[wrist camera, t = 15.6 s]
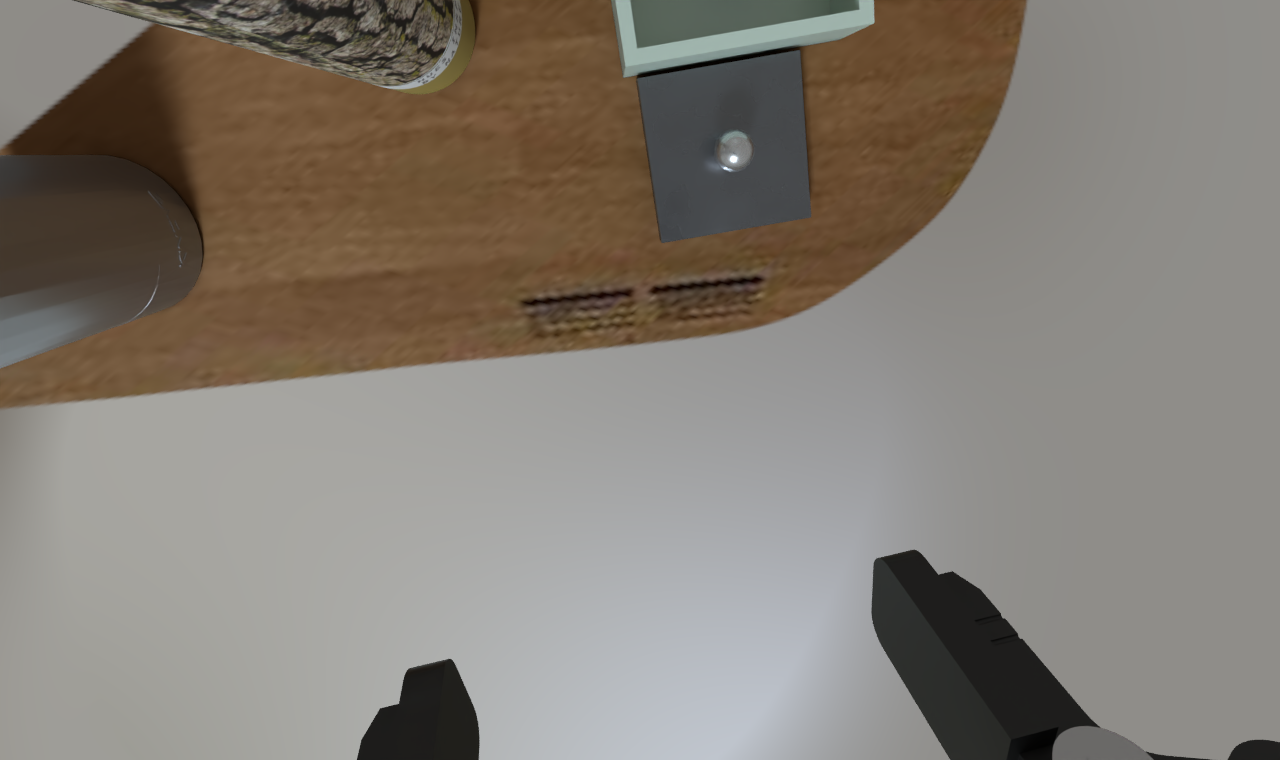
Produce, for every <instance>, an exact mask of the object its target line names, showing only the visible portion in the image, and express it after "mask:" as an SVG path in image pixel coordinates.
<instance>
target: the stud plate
mask: <svg viewBox="0 0 1280 760" xmlns="http://www.w3.org/2000/svg"><path fill="white" fill-rule="evenodd" d="M636 83H637V90H638V96H639V103H640V110H641V116H642V123H643V130H644V136H645V143H646V150H647V156H648V163H649V170H650V177H651V183H652V190H653V197H654V203H655V210H656V217H657V223H658V230H659V237H660V241H661V242H662V243H664V242H670V241H676V240H682V239H688V238H693V237H699V236H705V235H711V234H717V233H722V232H728V231H734V230H740V229H746V228H751V227H757V226H763V225H769V224H775V223H780V222H786V221H792V220H798V219H804V218H809V217H811V208H810V193H809V178H808V163H807V148H806V133H805V117H804V102H803V87H802V72H801V57H800V50H797V51H791V52H786V53H780V54H774V55H769V56H763V57H757V58H751V59H746V60H740V61H734V62H729V63H723V64H717V65H711V66H706V67H700V68H694V69H689V70H683V71H677V72H671V73H666V74H660V75H654V76H649V77H643V78H637V81H636Z"/></svg>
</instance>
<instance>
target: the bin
mask: <svg viewBox="0 0 1280 760" xmlns="http://www.w3.org/2000/svg"><path fill="white" fill-rule="evenodd" d="M611 2H612V9H613V15H614V22H615V28H616V35H617V41H618V47H619V54H620V60H621V67H622V73H623V78H624V77H630V76H635V75H641V74H647V73H653V72H658V71H664V70H670V69H675V68H681V67H687V66H693V65H698V64H704V63H710V62H715V61H721V60H727V59H732V58H738V57H744V56H750V55H755V54H761V53H767V52H772V51H778V50H784V49H790V48H795V47H801V46H807V45H812V44H818V43H824V42H830V41H835V40H840V39H842V38H844V37H846V36H848V35H850V34H853V33H855V32H857V31H859V30H861V29H863V28H865V27H867V26H869V25H871V24H874V0H611Z"/></svg>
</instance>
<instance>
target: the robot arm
mask: <svg viewBox="0 0 1280 760" xmlns="http://www.w3.org/2000/svg"><path fill="white" fill-rule="evenodd" d="M202 258H203V256H202V243H201V238H200V234H199V231H198V228H197V224H196V222H195V220H194V218H193V216H192V214H191V212H190V210H189V209H188V207H187V206H186V204H185V203H184V202H183V200H182V199H181V198H180V196H179V195H178V194H177V192H175V191H174V190H173V189H172V188H171V187H170V186H169V185H168V184H167V183H166V182H165V181H164V180H163V179H161V178H160V177H158V176H157V175H155V174H154V173H152V172H151V171H150V170H148V169H147V168H145V167H142V166H140V165H138V164H136V163H133V162H131V161H129V160H126V159H122V158H117V157H113V156H107V155H0V368H2V367H5V366H8V365H11V364H13V363H16V362H19V361H22V360H25V359H27V358H30V357H33V356H36V355H38V354H41V353H44V352H47V351H50V350H52V349H55V348H58V347H61V346H63V345H66V344H69V343H72V342H75V341H77V340H80V339H83V338H86V337H88V336H91V335H94V334H97V333H100V332H102V331H105V330H108V329H111V328H114V327H117V326H120V325H123V324H125V323H128V322H131V321H134V320H136V319H139V318H142V317H145V316H147V315H150V314H153V313H156V312H158V311H161V310H164V309H166V308H168V307H171V306H173V305H175V304H176V303H178V302H179V301H180V300H182V299H183V298H185V297H186V296H187V294H188V293H189V292H190V291H191V289H192V288H193V287H194V285H195V283H196V281H197V279H198V276H199V274H200V271H201V264H202ZM872 620H873V624H874V628H875V631H876V634H877V637H878V639H879V641H880V643H881V645H882V647H883V649H884V651H885V652H886V654H887V656H888V657H889V659H890V660H891V662H892V664H893V665H894V667H895V669H896V670H897V672H898V674H899V675H900V677H901V679H902V680H903V682H904V684H905V685H906V687H907V688H908V690H909V692H910V694H911V695H912V697H913V699H914V700H915V702H916V704H917V705H918V707H919V709H920V710H921V712H922V713H923V715H924V717H925V718H926V720H927V722H928V723H929V725H930V727H931V728H932V730H933V732H934V733H935V735H936V737H937V738H938V740H939V742H940V743H941V745H942V747H943V748H944V750H945V752H946V753H947V755H948V757H949V758H950V760H1209V759H1197V758H1186V757H1174V756H1164V755H1158V754H1153V753H1149V752H1145V751H1144V750H1142V749H1141V748H1140V747H1139V746H1137V745H1136V744H1135V743H1133V742H1131V741H1130V740H1128V739H1127V738H1125V737H1123V736H1121V735H1119V734H1117V733H1114V732H1111V731H1109V730H1106V729H1102V728H1100V727H1099V726H1098V725H1097V724H1096V723H1095V722H1093V721H1092V720H1091V719H1090V718H1089V717H1088V715H1087V714H1086V713H1085V712H1084V711H1083V710H1082V709H1081V707H1080V706H1079V705H1078V704H1077V703H1076V702H1075V700H1074V699H1073V698H1072V697H1071V696H1070V694H1068V692H1067V691H1066V690H1065V689H1064V687H1062V685H1061V684H1060V683H1059V682H1058V680H1057V679H1056V678H1055V677H1054V676H1053V675H1052V673H1051V672H1050V671H1049V670H1048V669H1047V667H1046V666H1045V665H1044V664H1043V663H1042V662H1041V660H1040V659H1039V658H1038V657H1037V656H1036V654H1035V653H1034V652H1033V651H1032V650H1031V649H1030V647H1029V646H1028V645H1027V644H1026V643H1025V641H1024V640H1023V639H1020V638H1019V637H1018V633H1017V632H1016V631H1015V630H1014V629H1013V627H1012V626H1011V625H1010V624H1009V623H1008V621H1007V620H1006V619H1003V618H1002V617H1001V613H1000V612H999V611H998V610H997V609H996V607H995V606H994V605H993V604H992V603H991V601H990V600H989V599H988V598H987V597H986V596H985V594H984V593H983V592H982V591H981V590H980V589H979V588H977V587H976V586H974V585H972V584H971V583H969V582H968V581H966V580H965V579H963V578H961V577H960V576H959V575H957V574H956V573H954V572H953V571H952V572H948V573H944V574H940V575H938V574H937V573H936V571H935V570H934V569H933V568H932V566H931V565H930V564H929V563H928V561H927V560H926V559H925V557H923V555H922V554H921V553H920V552H918V551H917V550H910V551H906V552H902V553H898V554H893V555H890V556H885V557H881V558H877V559H876V560H875V562H874V570H873V592H872ZM357 760H479V727H478V721H477V716H476V712H475V710H474V706H473V704H472V702H471V699H470V697H469V695H468V693H467V690H466V688H465V686H464V684H463V681H462V679H461V677H460V674H459V672H458V670H457V668H456V665H455V664H454V662H453V660H451V659H447V660H443V661H438V662H435V663H430V664H426V665H422V666H417V667H413V668H410V669H408V670H407V672H406V674H405V677H404V680H403V686H402V691H401V696H400V701H399V704H397V705H393V706H388V707H385V708H380V710H379V712H378V714H377V715H376V716H375V718H374V720H373V722H372V723H371V725H370V727H369V728H368V730H367V732H366V734H365V735H364V737H363V738H362V740H361V745H360V749H359V753H358V758H357ZM1228 760H1280V742H1275V741H1269V740H1250V741H1247V742H1243V743H1241V744H1239V745H1238V746H1236V747H1235V748H1234V750H1233V751H1232V752H1231V754H1230V756H1229V758H1228Z"/></svg>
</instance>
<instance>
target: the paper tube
mask: <svg viewBox="0 0 1280 760" xmlns="http://www.w3.org/2000/svg"><path fill="white" fill-rule="evenodd" d="M74 1H78V2H81V3H85V4H88V5H92V6H95V7H99V8H103V9H106V10H110V11H113V12H117V13H120V14H124V15H127V16H131V17H135V18H138V19H142V20H145V21H149V22H152V23H156V24H160V25H163V26H167V27H170V28H174V29H177V30H181V31H185V32H188V33H192V34H195V35H199V36H202V37H206V38H210V39H213V40H217V41H220V42H224V43H227V44H231V45H235V46H238V47H242V48H245V49H249V50H252V51H256V52H260V53H263V54H267V55H270V56H274V57H277V58H281V59H285V60H288V61H292V62H295V63H299V64H302V65H306V66H310V67H313V68H317V69H320V70H324V71H327V72H331V73H335V74H338V75H342V76H345V77H349V78H352V79H356V80H360V81H363V82H367V83H370V84H374V85H377V86H381V87H385V88H390V89H394V90H397V91H401V92H405V93H409V94H428V93H433V92H436V91H439V90H441V89H444V88H446V87H447V86H449V85H450V84H452V83H453V82H454V81H455V80H457V78H458V77H459V76H460V75H461V74H462V73H463V71H464V70H465V68H466V67H467V65H468V63H469V61H470V59H471V56H472V53H473V49H474V43H475V22H474V16H473V12H472V8H471V5H470V2H469V0H74Z"/></svg>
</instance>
